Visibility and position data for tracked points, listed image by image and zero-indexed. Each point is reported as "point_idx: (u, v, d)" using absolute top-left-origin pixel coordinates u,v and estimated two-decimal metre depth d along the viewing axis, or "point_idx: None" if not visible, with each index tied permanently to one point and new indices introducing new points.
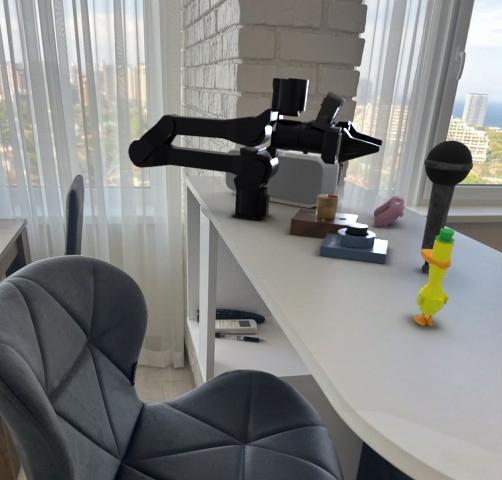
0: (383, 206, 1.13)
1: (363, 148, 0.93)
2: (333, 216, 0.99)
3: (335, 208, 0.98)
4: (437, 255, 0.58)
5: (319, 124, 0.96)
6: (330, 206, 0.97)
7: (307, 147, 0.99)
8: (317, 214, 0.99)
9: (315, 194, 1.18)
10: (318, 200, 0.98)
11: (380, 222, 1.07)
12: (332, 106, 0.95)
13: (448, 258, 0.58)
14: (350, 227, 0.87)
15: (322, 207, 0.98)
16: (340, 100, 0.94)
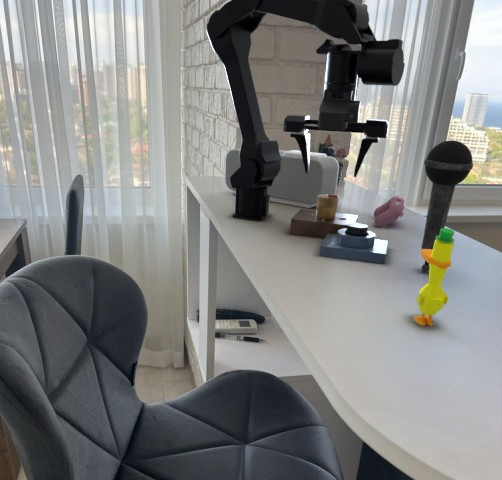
0: (383, 206, 1.13)
1: None
2: (333, 216, 0.99)
3: (335, 208, 0.98)
4: (437, 255, 0.58)
5: (320, 105, 0.90)
6: (330, 206, 0.97)
7: None
8: (317, 214, 0.99)
9: (315, 194, 1.18)
10: (318, 200, 0.98)
11: (380, 222, 1.07)
12: None
13: (448, 258, 0.58)
14: (350, 227, 0.87)
15: (322, 207, 0.98)
16: (319, 127, 0.87)
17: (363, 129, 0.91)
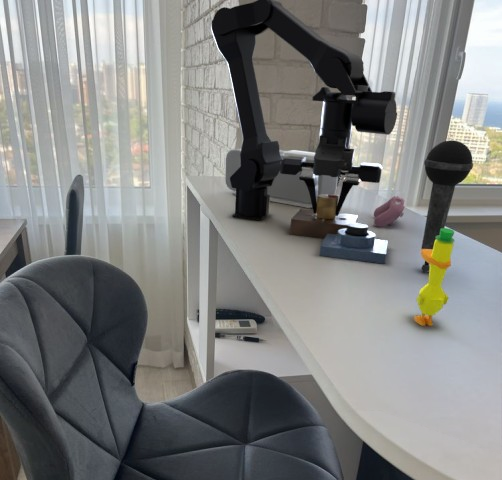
0: (383, 206, 1.13)
1: None
2: (333, 216, 0.99)
3: (335, 208, 0.98)
4: (437, 255, 0.58)
5: None
6: (330, 206, 0.97)
7: None
8: (317, 214, 0.99)
9: None
10: (318, 200, 0.98)
11: (380, 222, 1.07)
12: None
13: (448, 258, 0.58)
14: (350, 227, 0.87)
15: (322, 207, 0.98)
16: (314, 172, 0.90)
17: (344, 171, 0.95)
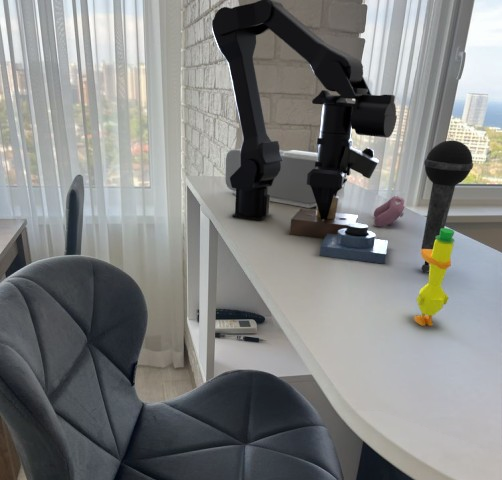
0: (383, 206, 1.13)
1: (324, 205, 0.96)
2: None
3: None
4: (437, 255, 0.58)
5: (346, 156, 0.92)
6: None
7: (323, 143, 0.92)
8: (331, 216, 0.98)
9: None
10: (332, 202, 0.97)
11: (380, 222, 1.07)
12: (363, 168, 0.92)
13: (448, 258, 0.58)
14: (350, 227, 0.87)
15: (336, 207, 0.98)
16: (369, 176, 0.93)
17: None
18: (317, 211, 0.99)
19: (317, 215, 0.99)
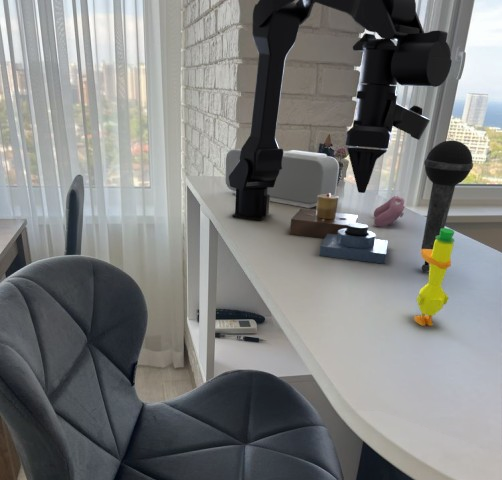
0: (383, 206, 1.13)
1: (363, 175, 0.79)
2: None
3: None
4: (437, 255, 0.58)
5: (392, 112, 0.76)
6: None
7: (364, 97, 0.77)
8: (331, 216, 0.98)
9: (315, 194, 1.18)
10: (332, 202, 0.97)
11: (380, 222, 1.07)
12: (412, 127, 0.77)
13: (448, 258, 0.58)
14: (350, 227, 0.87)
15: (336, 207, 0.98)
16: (418, 136, 0.77)
17: None
18: (317, 211, 0.99)
19: (317, 215, 0.99)
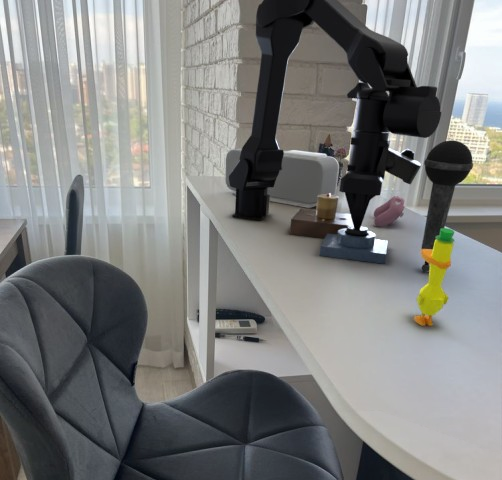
0: (383, 206, 1.13)
1: (358, 212, 0.85)
2: None
3: None
4: (437, 255, 0.58)
5: (385, 158, 0.79)
6: None
7: (358, 143, 0.80)
8: (331, 216, 0.98)
9: (315, 194, 1.18)
10: (332, 202, 0.97)
11: (380, 222, 1.07)
12: (404, 173, 0.80)
13: (448, 258, 0.58)
14: (350, 229, 0.87)
15: (336, 207, 0.98)
16: (410, 181, 0.80)
17: None
18: (317, 211, 0.99)
19: (317, 215, 0.99)
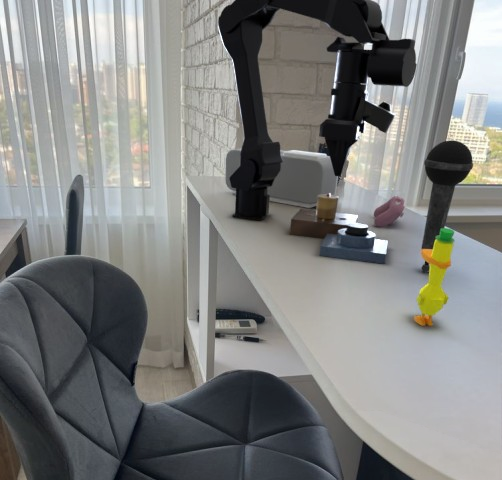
0: (383, 206, 1.13)
1: (338, 160, 0.93)
2: None
3: None
4: (437, 255, 0.58)
5: (362, 108, 0.86)
6: None
7: (338, 94, 0.87)
8: (331, 216, 0.98)
9: (315, 194, 1.18)
10: (332, 202, 0.97)
11: (380, 222, 1.07)
12: (379, 121, 0.87)
13: (448, 258, 0.58)
14: (350, 227, 0.87)
15: (336, 207, 0.98)
16: (385, 130, 0.87)
17: None
18: (317, 211, 0.99)
19: (317, 215, 0.99)
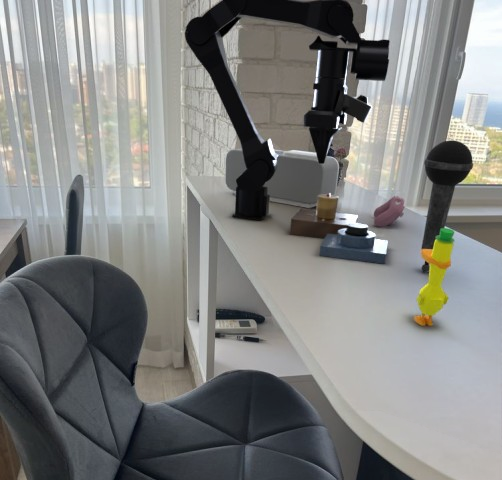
0: (383, 206, 1.13)
1: (321, 149, 1.02)
2: None
3: None
4: (437, 255, 0.58)
5: (341, 100, 0.95)
6: None
7: (319, 88, 0.96)
8: (331, 216, 0.98)
9: (315, 194, 1.18)
10: (332, 202, 0.97)
11: (380, 222, 1.07)
12: (357, 112, 0.96)
13: (448, 258, 0.58)
14: (350, 227, 0.87)
15: (336, 207, 0.98)
16: (363, 120, 0.97)
17: None
18: (317, 211, 0.99)
19: (317, 215, 0.99)
